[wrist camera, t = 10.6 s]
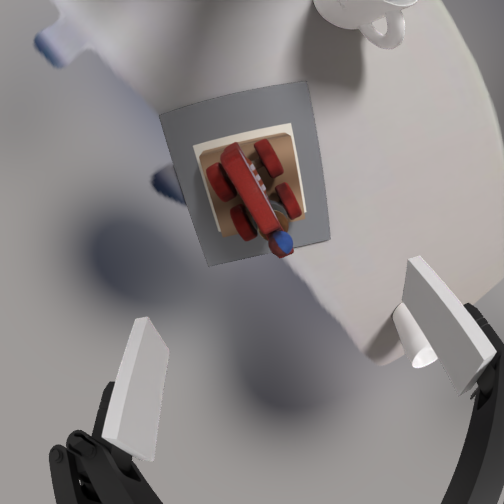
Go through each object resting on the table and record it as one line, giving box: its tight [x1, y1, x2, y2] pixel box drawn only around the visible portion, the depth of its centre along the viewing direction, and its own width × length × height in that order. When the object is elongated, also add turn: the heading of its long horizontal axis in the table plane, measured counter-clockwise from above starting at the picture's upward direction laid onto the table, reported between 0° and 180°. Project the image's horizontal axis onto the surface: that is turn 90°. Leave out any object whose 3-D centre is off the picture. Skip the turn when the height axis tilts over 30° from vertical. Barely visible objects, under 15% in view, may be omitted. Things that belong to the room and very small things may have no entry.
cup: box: [393, 302, 438, 368], centre depth 43 cm, size 9×9×12 cm
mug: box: [313, 0, 417, 49], centre depth 17 cm, size 8×12×12 cm
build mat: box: [159, 81, 331, 266], centre depth 33 cm, size 22×18×1 cm
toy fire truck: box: [206, 139, 302, 258], centre depth 25 cm, size 7×12×10 cm, turn 26°
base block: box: [199, 132, 305, 237], centre depth 31 cm, size 10×10×4 cm
